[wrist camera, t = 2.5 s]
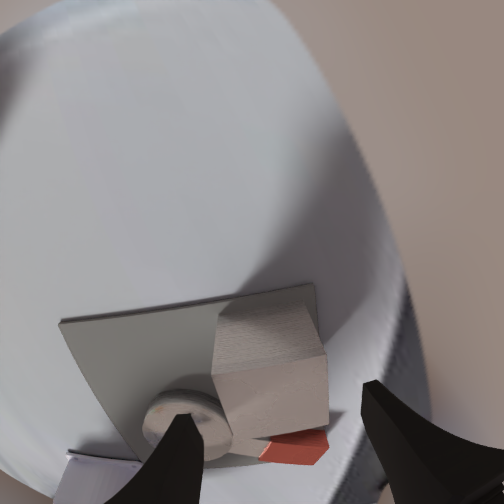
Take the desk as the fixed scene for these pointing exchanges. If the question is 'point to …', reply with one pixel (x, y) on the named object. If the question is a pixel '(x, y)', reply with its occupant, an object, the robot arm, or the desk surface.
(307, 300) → the mat
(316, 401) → the pale grey cube
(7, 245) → the desk surface
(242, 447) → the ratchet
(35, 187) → the desk surface
